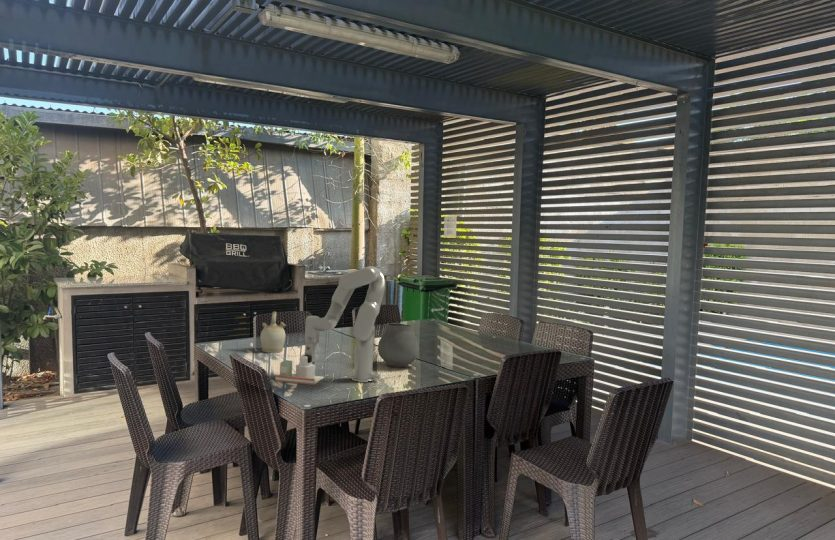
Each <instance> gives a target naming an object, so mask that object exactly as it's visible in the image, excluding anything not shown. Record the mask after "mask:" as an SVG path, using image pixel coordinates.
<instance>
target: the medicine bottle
mask: <svg viewBox="0 0 835 540" xmlns="http://www.w3.org/2000/svg"><path fill="white" fill-rule="evenodd" d="M295 374H296V377H300V378H310V379H313V378H315V376H316V364H314V365H313V364H312V356H310V355H305V354H303V355H300V356H299V364H296V365H295Z"/></svg>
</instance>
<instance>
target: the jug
mask: <svg viewBox="0 0 835 540" xmlns="http://www.w3.org/2000/svg"><path fill="white" fill-rule="evenodd" d="M271 313H272V314H271V322H270V324H267V323H266V322H262V327H263V329H262V330H261V332H260V334H259V335H260V337H259V338H260V344H261V345H260V346H261V350H262V352H263V353H266V352H268V354H278V353H281V352H283V350H284V346H285V342H286V331H285V329H284V327H286V326H287V324H285V323H284V322H282V321H280V324H277V323H276V322H277V311H272V312H271Z"/></svg>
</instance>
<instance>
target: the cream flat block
mask: <svg viewBox="0 0 835 540" xmlns="http://www.w3.org/2000/svg"><path fill="white" fill-rule="evenodd" d="M324 378H325V376H322V375H321V376H320V375H319V376H318V375H315V378H313V379H310V378H300V377H296V373H292V377H290V376H280V374H276V375H275V382H281V383H290V384H299V385H300V384H301V385H309V386H310V385H311V386H315V385H316V384H318V383H319V382H320V381H321V380H323V379H324Z"/></svg>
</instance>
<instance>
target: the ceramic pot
mask: <svg viewBox="0 0 835 540" xmlns="http://www.w3.org/2000/svg"><path fill="white" fill-rule="evenodd" d="M413 328H414V325H412V324H411V325H410V324H404V323H396V322H390V323H386V330H385V331H384V333H383V334H382V335H381V337H380V339H379V341H378V345H377V352H378V355H379V357H380V358H381V359H382V361H384V363H385V364H386V365H387V366H390V367H394V368H404V367H407V366H409V365H410V364H412V363H413V362H415V361H416V359H417V358H418V356H419V354H420V346H419V341H418V338H417V336H416V335H415V333H414V330H413Z"/></svg>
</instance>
